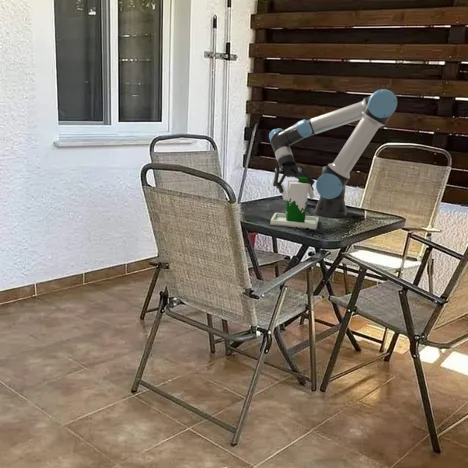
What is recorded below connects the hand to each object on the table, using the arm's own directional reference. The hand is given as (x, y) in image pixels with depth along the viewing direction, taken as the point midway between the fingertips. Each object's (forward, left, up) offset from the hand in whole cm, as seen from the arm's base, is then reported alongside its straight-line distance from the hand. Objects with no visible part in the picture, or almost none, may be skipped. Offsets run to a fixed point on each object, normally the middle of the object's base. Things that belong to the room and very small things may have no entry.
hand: (299, 198), depth 268 cm
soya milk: (+1, -2, -11) cm, 12 cm away
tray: (+1, -2, -12) cm, 12 cm away
